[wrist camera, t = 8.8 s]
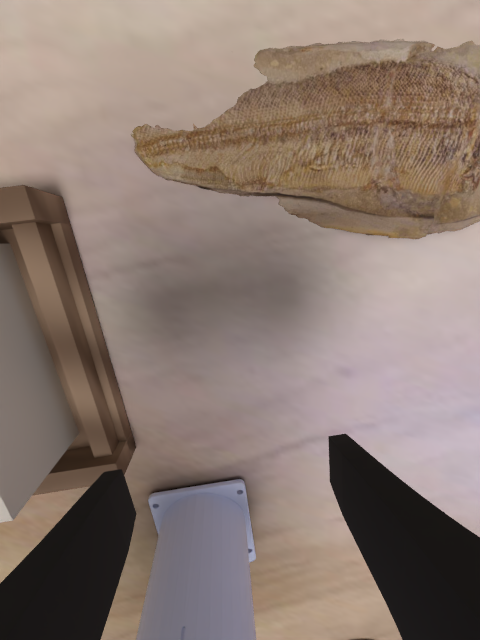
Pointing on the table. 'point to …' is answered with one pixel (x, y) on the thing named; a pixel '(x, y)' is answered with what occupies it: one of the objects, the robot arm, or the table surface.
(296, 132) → the fish fossil
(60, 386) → the clay bar
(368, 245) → the table surface
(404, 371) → the table surface
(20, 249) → the rack
